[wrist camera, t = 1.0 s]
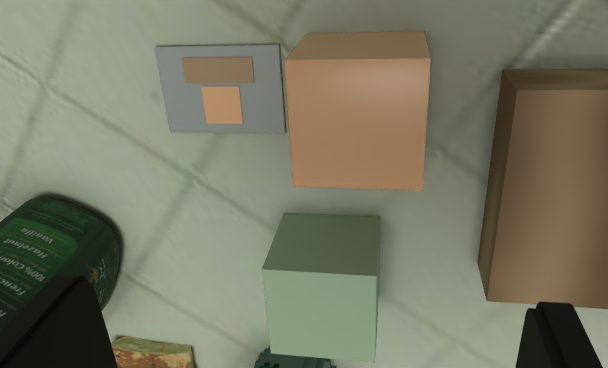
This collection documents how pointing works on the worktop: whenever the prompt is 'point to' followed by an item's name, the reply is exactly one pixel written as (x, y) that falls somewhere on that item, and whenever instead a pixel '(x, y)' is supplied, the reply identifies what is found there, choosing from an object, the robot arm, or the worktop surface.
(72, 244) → the coffee jar
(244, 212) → the worktop surface
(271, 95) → the card
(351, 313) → the sage cube
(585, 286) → the walnut block
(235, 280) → the worktop surface
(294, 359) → the can
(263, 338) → the worktop surface
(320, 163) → the terracotta cube
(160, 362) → the shard
